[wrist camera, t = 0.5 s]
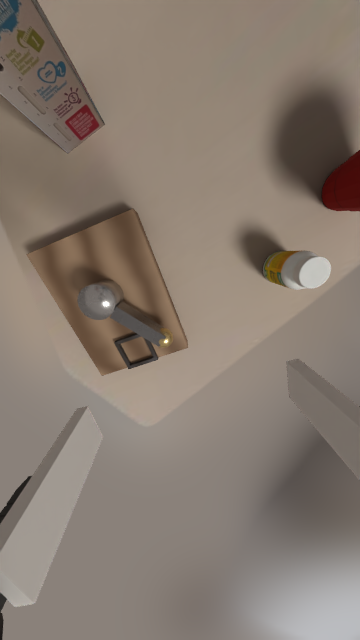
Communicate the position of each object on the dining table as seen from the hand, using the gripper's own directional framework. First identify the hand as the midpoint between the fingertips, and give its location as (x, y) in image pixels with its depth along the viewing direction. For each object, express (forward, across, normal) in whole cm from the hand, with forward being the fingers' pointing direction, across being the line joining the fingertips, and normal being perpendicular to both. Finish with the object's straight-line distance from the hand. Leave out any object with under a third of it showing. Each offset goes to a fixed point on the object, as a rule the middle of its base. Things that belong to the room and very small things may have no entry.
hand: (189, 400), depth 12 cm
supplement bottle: (+23, +18, +4) cm, 30 cm away
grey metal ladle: (+20, -7, +2) cm, 22 cm away
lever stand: (+24, -10, +4) cm, 26 cm away
